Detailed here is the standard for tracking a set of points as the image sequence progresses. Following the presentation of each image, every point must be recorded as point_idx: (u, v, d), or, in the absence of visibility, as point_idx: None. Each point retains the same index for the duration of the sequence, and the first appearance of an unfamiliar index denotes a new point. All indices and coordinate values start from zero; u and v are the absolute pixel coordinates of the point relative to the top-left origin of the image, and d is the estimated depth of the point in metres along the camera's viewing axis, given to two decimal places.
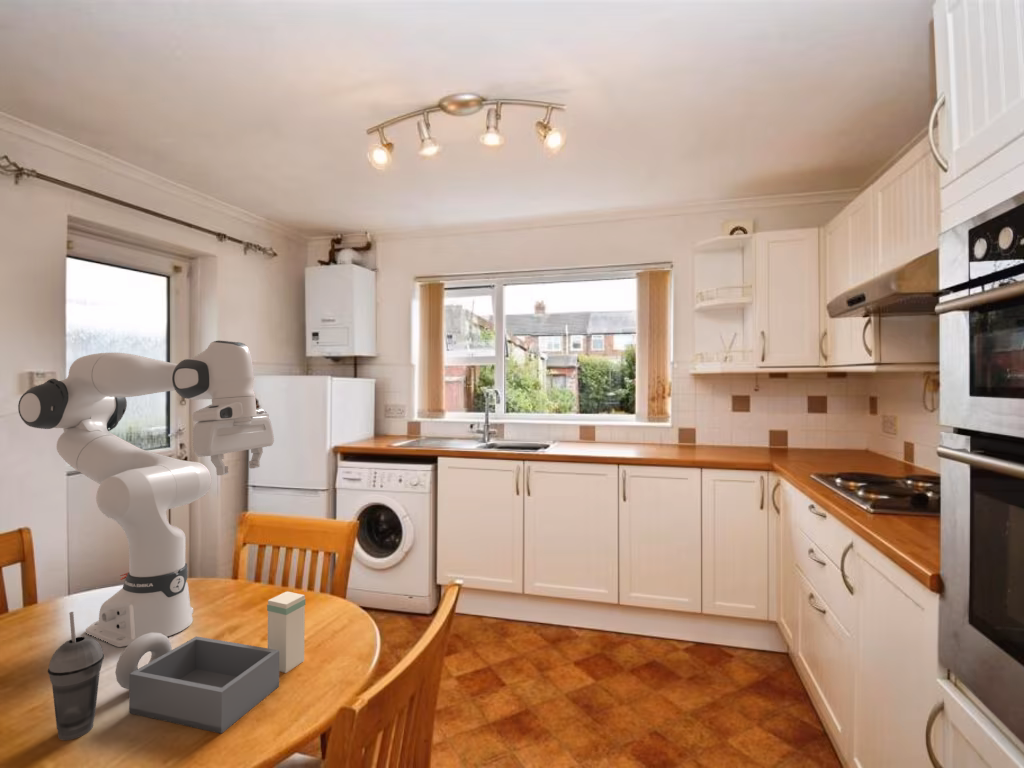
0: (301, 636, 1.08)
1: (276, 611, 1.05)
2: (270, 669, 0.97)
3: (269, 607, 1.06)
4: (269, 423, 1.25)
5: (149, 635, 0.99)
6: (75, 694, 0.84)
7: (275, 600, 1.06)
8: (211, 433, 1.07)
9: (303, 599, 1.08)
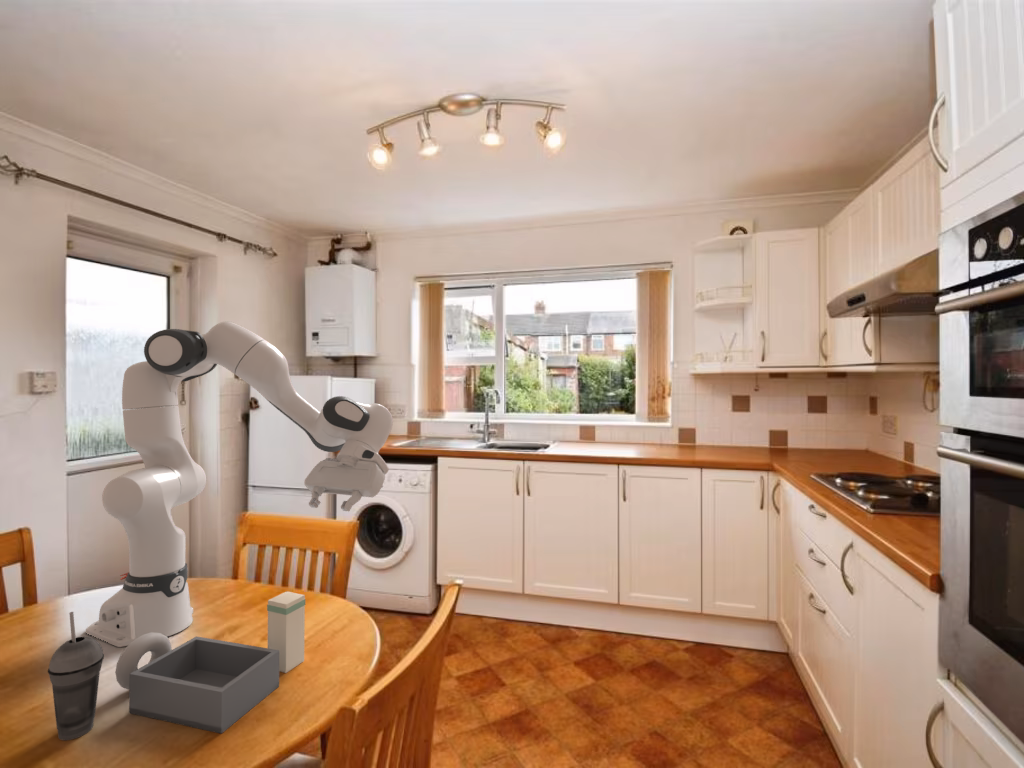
0: (301, 636, 1.08)
1: (276, 611, 1.05)
2: (270, 669, 0.97)
3: (269, 607, 1.06)
4: None
5: (149, 635, 0.99)
6: (75, 694, 0.84)
7: (275, 600, 1.06)
8: None
9: (303, 599, 1.08)
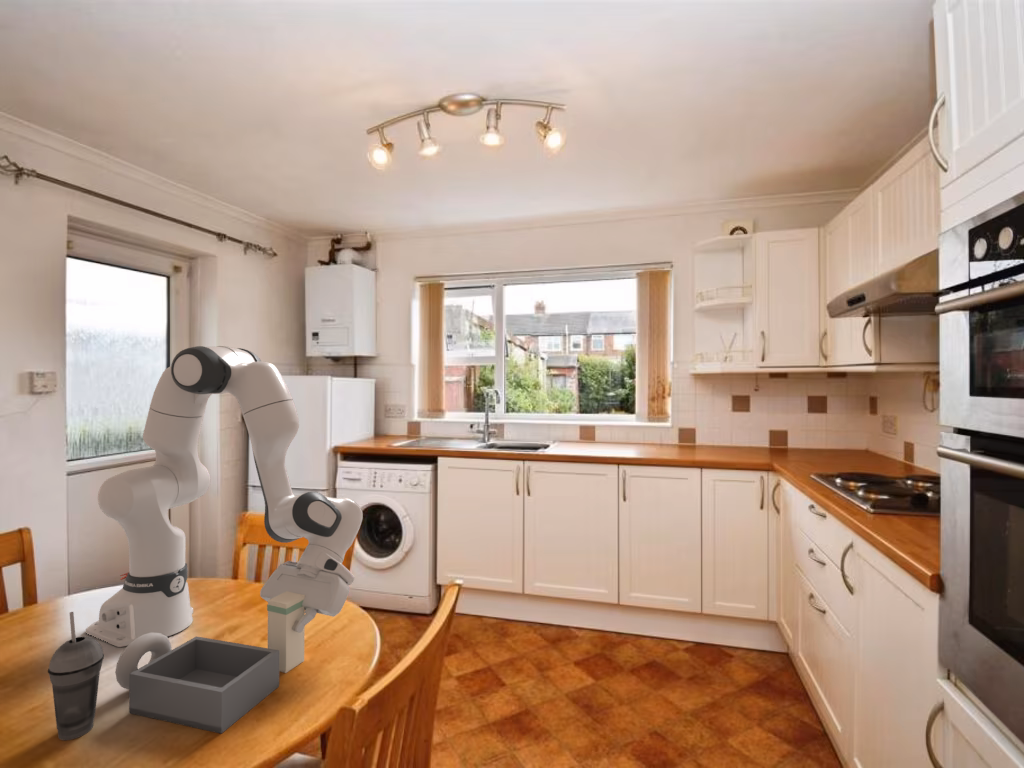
0: (301, 636, 1.08)
1: (276, 611, 1.05)
2: (270, 669, 0.97)
3: (269, 607, 1.06)
4: None
5: (149, 635, 0.99)
6: (75, 694, 0.84)
7: (275, 600, 1.06)
8: None
9: (303, 599, 1.08)
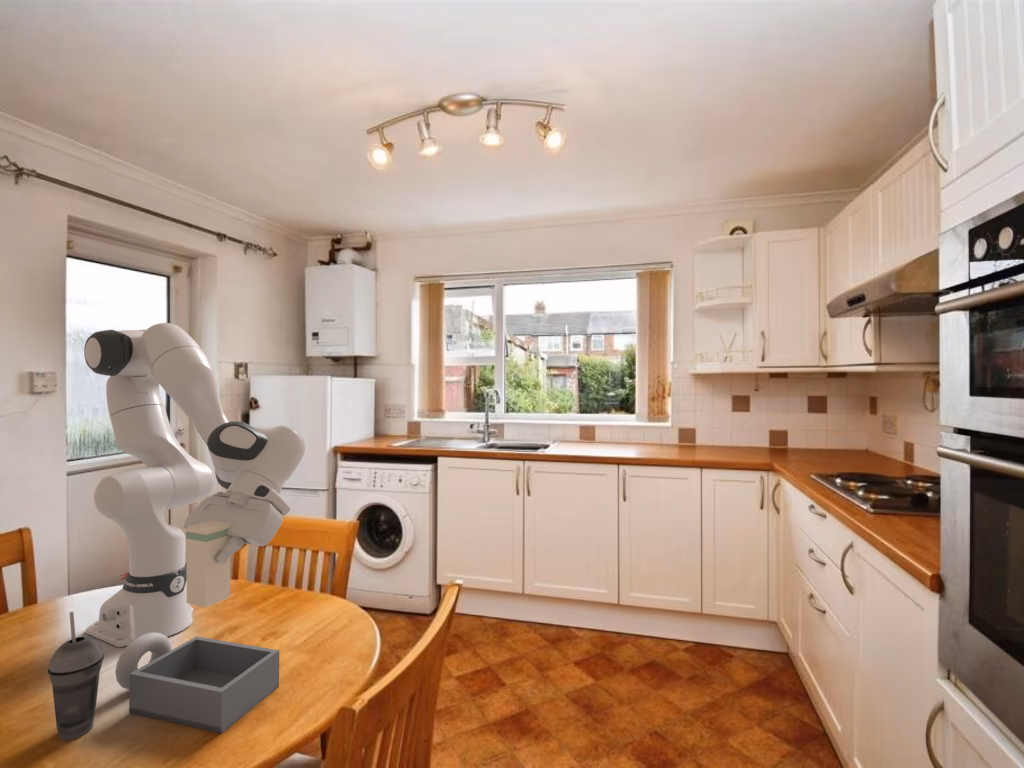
0: (226, 569, 0.96)
1: (195, 538, 0.93)
2: (270, 669, 0.97)
3: (188, 534, 0.94)
4: None
5: (149, 635, 0.99)
6: (75, 694, 0.84)
7: (195, 527, 0.94)
8: None
9: (228, 527, 0.96)
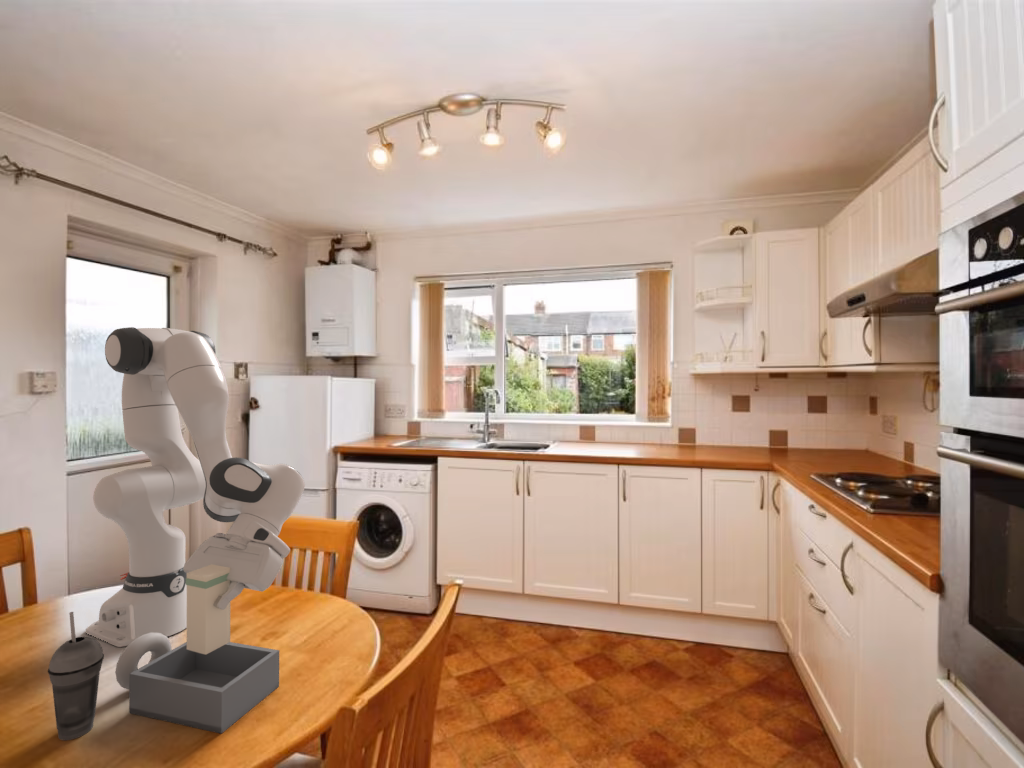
0: (226, 614, 0.96)
1: (195, 584, 0.93)
2: (270, 669, 0.97)
3: (188, 581, 0.94)
4: None
5: (149, 635, 0.99)
6: (75, 694, 0.84)
7: (195, 573, 0.94)
8: None
9: (228, 572, 0.96)
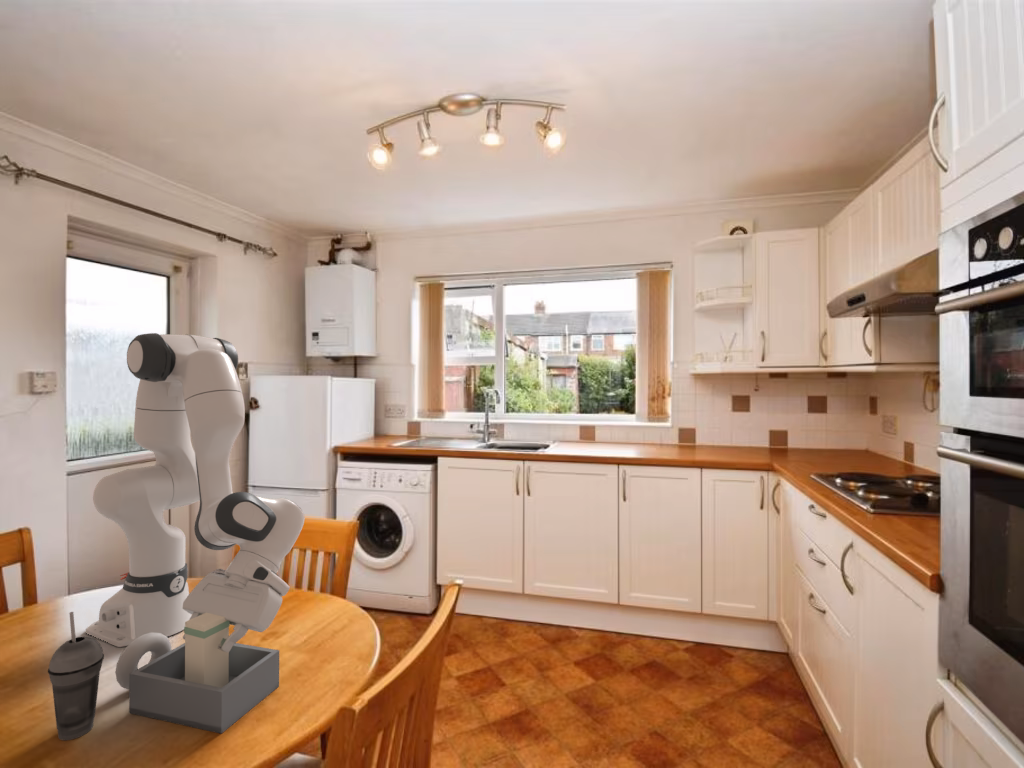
0: (225, 661, 0.96)
1: (193, 634, 0.93)
2: (270, 669, 0.97)
3: (186, 630, 0.94)
4: None
5: (149, 635, 0.99)
6: (75, 694, 0.84)
7: (193, 622, 0.94)
8: None
9: None
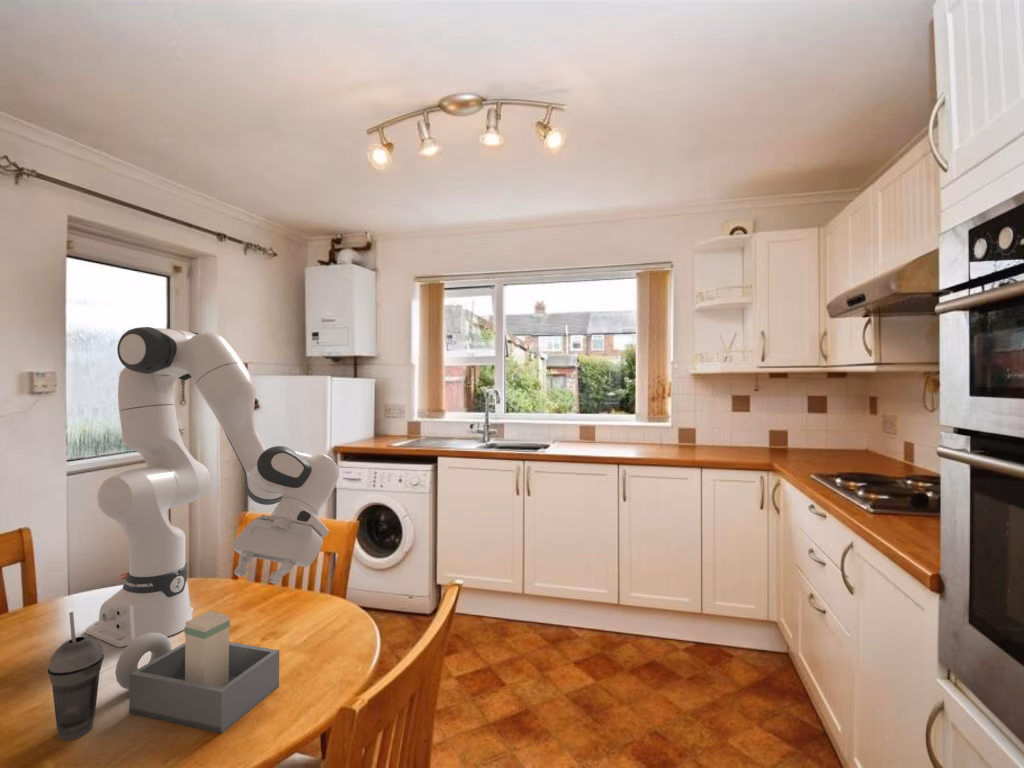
0: (225, 662, 0.96)
1: (194, 634, 0.93)
2: (270, 669, 0.97)
3: (186, 630, 0.94)
4: None
5: (149, 635, 0.99)
6: (75, 694, 0.84)
7: (193, 622, 0.94)
8: None
9: (227, 620, 0.96)
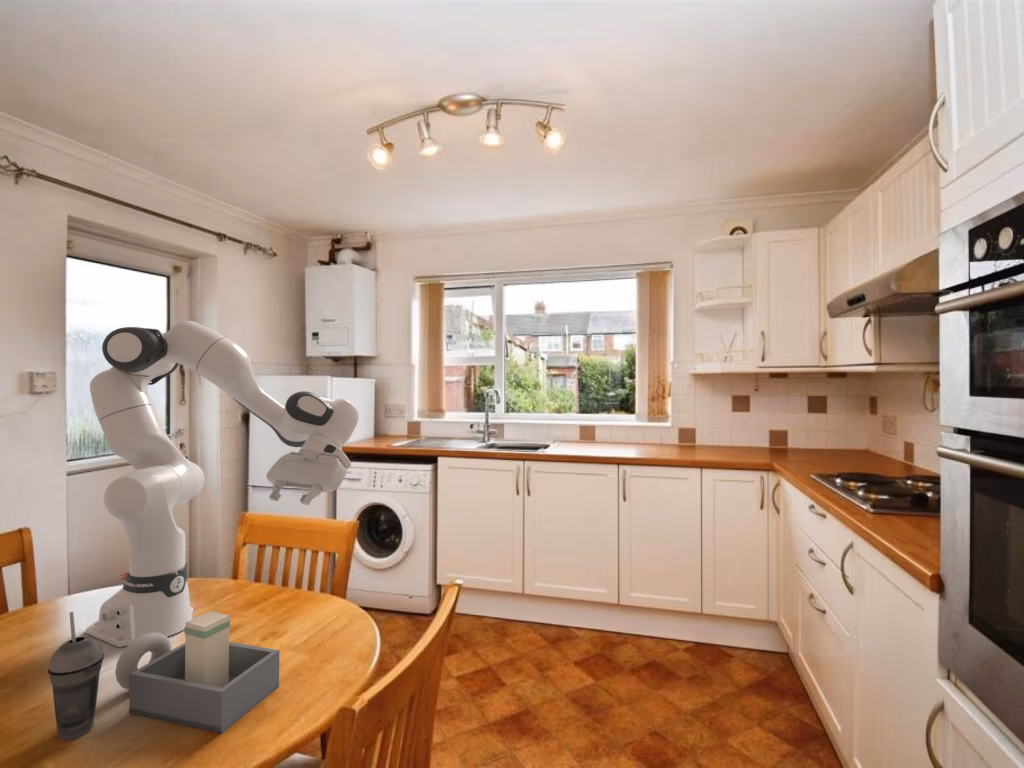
0: (225, 662, 0.96)
1: (194, 634, 0.93)
2: (270, 669, 0.97)
3: (186, 630, 0.94)
4: None
5: (149, 635, 0.99)
6: (75, 694, 0.84)
7: (193, 622, 0.94)
8: None
9: (227, 620, 0.96)
